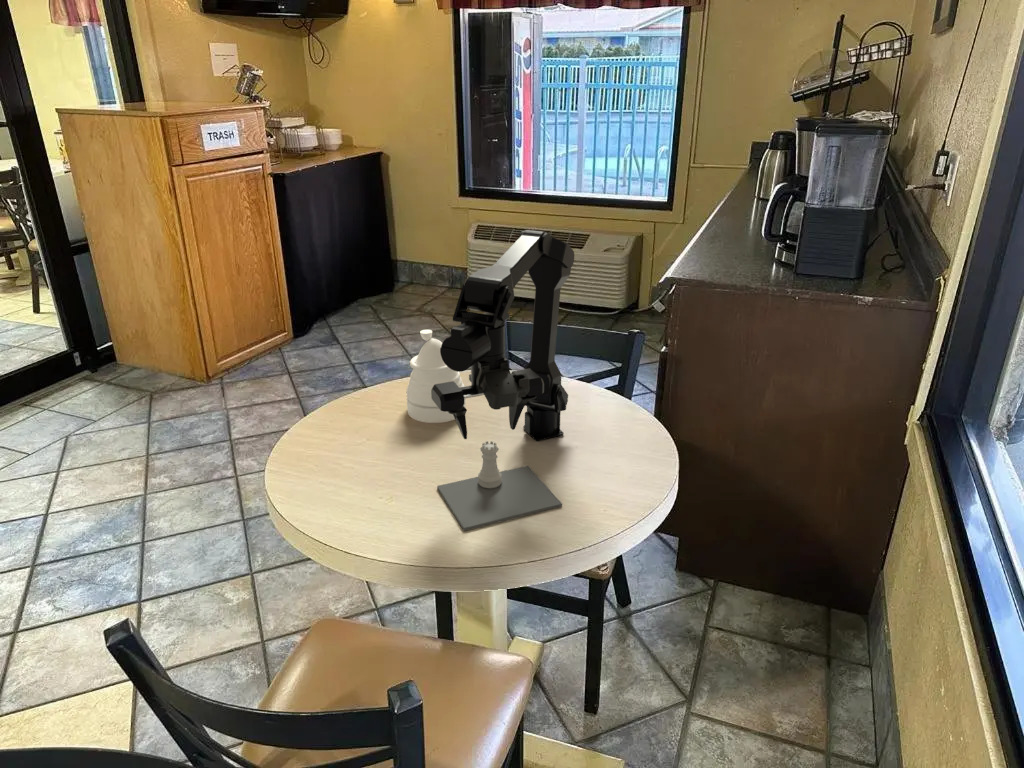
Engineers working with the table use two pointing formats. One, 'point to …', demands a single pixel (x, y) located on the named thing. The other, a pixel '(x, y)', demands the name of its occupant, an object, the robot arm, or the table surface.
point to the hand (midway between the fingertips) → (488, 433)
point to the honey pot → (429, 382)
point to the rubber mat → (498, 498)
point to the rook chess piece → (489, 467)
